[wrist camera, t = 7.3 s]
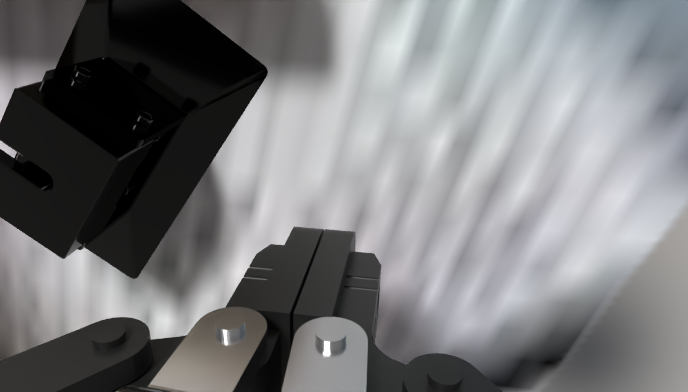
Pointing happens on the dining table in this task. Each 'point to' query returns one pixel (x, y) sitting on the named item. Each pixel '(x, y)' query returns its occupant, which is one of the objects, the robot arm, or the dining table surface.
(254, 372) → the robot arm
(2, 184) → the black angular block
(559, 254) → the dining table surface
